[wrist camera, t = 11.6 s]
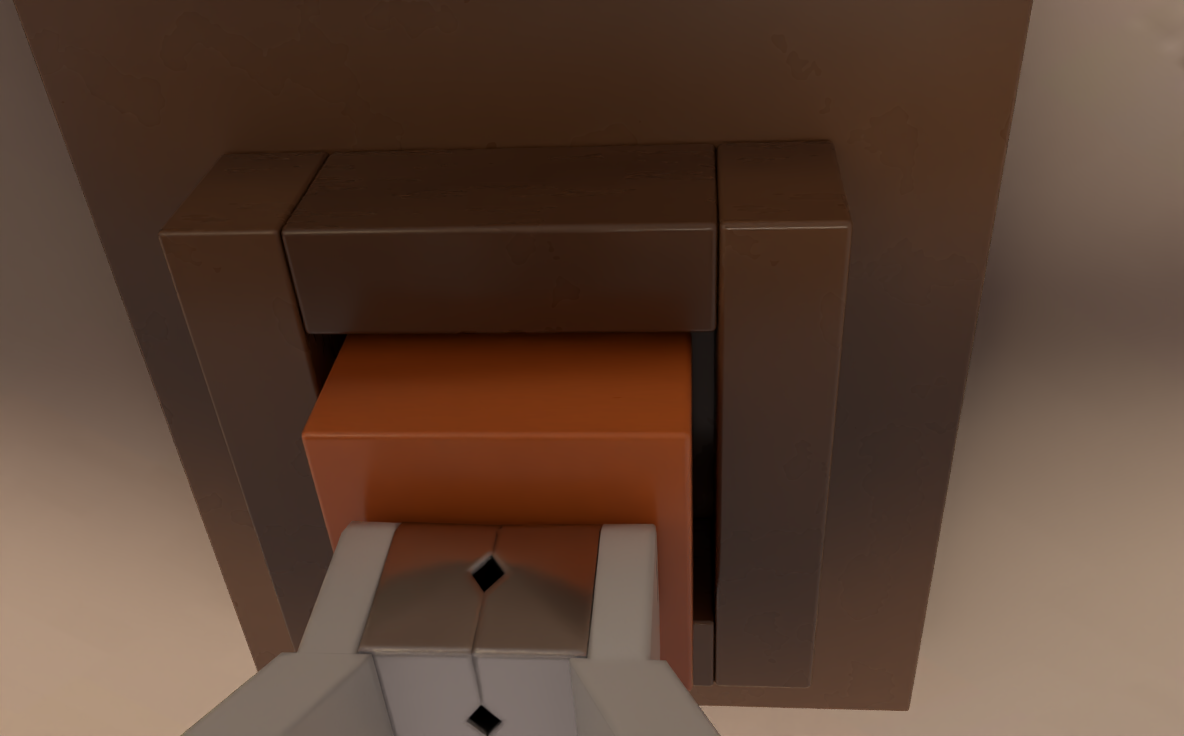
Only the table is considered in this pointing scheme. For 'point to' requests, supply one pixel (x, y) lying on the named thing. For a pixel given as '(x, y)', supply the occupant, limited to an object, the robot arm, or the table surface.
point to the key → (516, 441)
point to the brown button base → (570, 263)
